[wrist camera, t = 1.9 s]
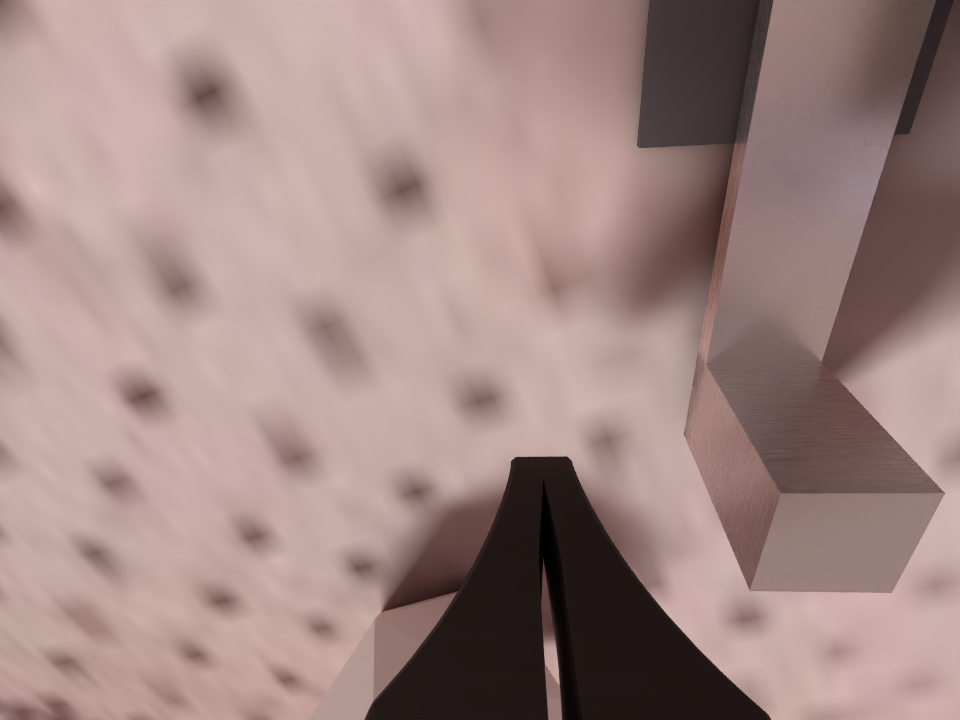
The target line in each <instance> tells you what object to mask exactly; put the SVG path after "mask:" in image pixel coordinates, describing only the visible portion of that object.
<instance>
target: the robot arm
mask: <svg viewBox="0 0 960 720" xmlns="http://www.w3.org/2000/svg"><path fill="white" fill-rule="evenodd" d="M543 559H544V566H545V573H546V580H547V587H548V593H549V600H550V607H551V614H552V620H553V627H554V634H555V641H556V648H557V657H558V666H559V680H560V696H561V712H562V720H771V718H770V717H769V715H768V714H767V713H766V712H765V711H764V710H762V709H761V708H760V707H759V706H758V705H757V704H756V703H755V702H753V701H752V700H751V699H750V698H749V697H748V696H747V695H746V694H744V693H743V692H742V691H741V690H740V689H739V688H738V687H737V686H736V685H735V684H734V683H733V682H732V681H731V680H729V679H728V678H727V677H726V676H725V675H724V674H723V673H722V672H721V671H720V670H719V669H718V668H717V667H716V666H715V665H714V664H713V663H712V662H711V661H710V660H709V659H708V658H707V657H706V656H705V655H704V654H703V653H702V652H701V651H700V650H699V649H698V648H697V647H696V646H695V645H694V644H693V642H692V641H691V640H690V639H689V638H688V637H687V636H686V635H685V634H684V633H683V632H682V630H681V629H680V628H679V627H678V626H677V625H676V624H675V623H674V622H673V621H672V619H671V618H670V617H669V616H668V615H667V614H666V613H665V612H664V610H663V609H662V608H661V607H660V606H659V604H658V603H657V602H656V601H655V600H654V598H653V597H652V596H651V595H650V593H649V592H648V591H647V590H646V588H645V587H644V586H643V584H642V583H641V582H640V580H639V579H638V578H637V577H636V575H635V574H634V573H633V571H632V570H631V568H630V567H629V566H628V564H627V563H626V561H625V560H624V558H623V557H622V555H621V554H620V552H619V551H618V549H617V548H616V546H615V545H614V543H613V542H612V540H611V539H610V537H609V535H608V534H607V532H606V531H605V529H604V527H603V525H602V524H601V522H600V520H599V519H598V517H597V515H596V513H595V512H594V510H593V508H592V506H591V504H590V502H589V500H588V499H587V497H586V494H585V492H584V490H583V488H582V486H581V484H580V482H579V480H578V477H577V475H576V472H575V470H574V467H573V464H572V461H571V460H570V459H569V458H568V457H515V458H514V459H513V460H512V461H511V469H510V474H509V478H508V482H507V486H506V489H505V492H504V495H503V499H502V501H501V504H500V507H499V509H498V512H497V514H496V517H495V520H494V522H493V525H492V527H491V529H490V531H489V533H488V536H487V538H486V540H485V542H484V544H483V546H482V548H481V550H480V553H479V555H478V557H477V558H476V560H475V562H474V564H473V566H472V568H471V570H470V572H469V573H468V575H467V577H466V579H465V580H464V582H463V584H462V585H461V587H460V589H459V590H458V592H457V594H456V595H455V597H454V598H453V600H452V601H451V603H450V604H449V606H448V608H447V609H446V611H445V612H444V614H443V615H442V617H441V618H440V620H439V621H438V622H437V624H436V625H435V627H434V628H433V629H432V631H431V632H430V633H429V635H428V636H427V637H426V639H425V640H424V641H423V643H422V644H421V645H420V647H419V648H418V649H417V650H416V652H415V653H414V654H413V656H412V657H411V658H410V660H409V661H408V662H407V663H406V664H405V666H404V667H403V668H402V669H401V670H400V671H399V673H398V674H397V675H396V676H395V677H394V678H393V679H392V681H391V682H390V683H389V684H388V685H387V686H386V687H385V689H384V690H383V691H382V692H381V693H380V694H379V695H378V697H377V698H376V699H375V700H374V701H373V702H372V704H371V706H370V708H369V710H368V712H367V715H366V717H365V719H364V720H548V705H547V691H546V676H545V661H544V646H543V630H542V613H541V597H542V574H543Z"/></svg>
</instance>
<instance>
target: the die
mask: <svg viewBox="0 0 960 720" xmlns="http://www.w3.org/2000/svg"><path fill="white" fill-rule="evenodd" d="M457 592H458V591H457ZM457 592H453V593H449V594H446V595H442V596H438V597H434V598H431V599H427V600H423V601H420V602H416V603H412V604H409V605H405V606H401V607H398V608H394V609H390V610H386V611H383V612H381V613H380V614H379V615H378V616H377V617H376V619H375V620H374V621H373V623H372V624H371V626H370V627H369V629H368V630H367V632H366V633H365V635H364V637H363V638H362V640H361V641H360V643H359V644H358V646H357V647H356V649H355V650H354V652H353V653H352V655H351V656H350V658H349V659H348V661H347V663H346V664H345V666H344V667H343V669H342V670H341V672H340V673H339V675H338V676H337V678H336V679H335V681H334V682H333V684H332V685H331V687H330V689H329V690H328V692H327V693H326V695H325V696H324V698H323V699H322V701H321V702H320V704H319V705H318V707H317V708H316V710H315V711H314V713H313V715H312V716H311V718H310V719H309V720H364V719H365V717H366V715H367V712H368V710H369V708H370V706H371V704H372V702H373V701H374V700H375V699H376V698H377V697H378V695H379V694H380V693H381V692H382V691H383V690H384V689H385V687H386V686H387V685H388V684H389V683H390V682H391V681H392V679H393V678H394V677H395V676H396V675H397V674H398V673H399V671H400V670H401V669H402V668H403V667H404V666H405V664H406V663H407V662H408V661H409V660H410V658H411V657H412V656H413V654H414V653H415V652H416V650H417V649H418V648H419V647H420V645H421V644H422V643H423V641H424V640H425V639H426V637H427V636H428V635H429V633H430V632H431V631H432V629H433V628H434V627H435V625H436V624H437V622H438V621H439V620H440V618H441V617H442V615H443V614H444V612H445V611H446V609H447V608H448V606H449V604H450V603H451V601H452V600H453V598H454V597H455V595H456V594H457ZM545 676H546V691H547V705H548V720H562V712H561V696H560V686H559V685H558V683H557V682H556V680H555V679H554V677H553V676H552V674H551V673H550V671H549V670H548V668H547V667H546V665H545Z"/></svg>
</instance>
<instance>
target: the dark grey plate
mask: <svg viewBox="0 0 960 720" xmlns="http://www.w3.org/2000/svg"><path fill="white" fill-rule="evenodd" d="M759 2H760V0H650V3H649V14H648V26H647V37H646V49H645V61H644V72H643V84H642V95H641V107H640V119H639V130H638V142H637V146H638V147H639V148H649V147H668V146H688V145H707V144H726V143H735V139H736V134H737V128H738V122H739V116H740V111H741V105H742V99H743V94H744V88H745V82H746V76H747V71H748V65H749V59H750V53H751V48H752V42H753V36H754V31H755V25H756V19H757V13H758V8H759ZM952 3H953V0H936V2H935V5H934V8H933V12H932V15H931V18H930V21H929V24H928V27H927V30H926V34H925V37H924V40H923V43H922V46H921V49H920V53H919V56H918V59H917V62H916V65H915V68H914V72H913V75H912V78H911V81H910V84H909V87H908V91H907V94H906V97H905V100H904V103H903V106H902V110H901V113H900V116H899V119H898V122H897V125H896V129H895V132H894V135H898V134H909V133H910V130H911V127H912V124H913V121H914V118H915V115H916V112H917V109H918V106H919V103H920V100H921V97H922V94H923V91H924V88H925V85H926V81H927V78H928V75H929V72H930V69H931V66H932V63H933V60H934V57H935V54H936V51H937V48H938V45H939V42H940V39H941V36H942V33H943V30H944V27H945V24H946V21H947V18H948V15H949V12H950V9H951V6H952Z"/></svg>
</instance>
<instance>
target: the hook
mask: <svg viewBox="0 0 960 720" xmlns="http://www.w3.org/2000/svg"><path fill="white" fill-rule="evenodd" d="M935 2H936V0H760V2H759V8H758V13H757V19H756V25H755V31H754V36H753V42H752V48H751V53H750V59H749V65H748V71H747V76H746V82H745V88H744V94H743V99H742V105H741V111H740V116H739V122H738V128H737V134H736V139H735V145H734V151H733V157H732V162H731V168H730V174H729V179H728V185H727V191H726V197H725V202H724V208H723V214H722V220H721V225H720V231H719V237H718V242H717V248H716V254H715V260H714V265H713V271H712V277H711V283H710V288H709V294H708V300H707V305H706V311H705V317H704V323H703V328H702V334H701V340H700V346H699V351H698V357H697V363H696V368H695V374H694V380H693V386H692V391H691V397H690V403H689V409H688V414H687V420H686V426H685V431H684V436H685V438H686V440H687V443H688V445H689V448H690V450H691V452H692V455H693V457H694V459H695V462H696V464H697V467H698V469H699V471H700V474H701V476H702V478H703V481H704V483H705V486H706V488H707V490H708V493H709V495H710V497H711V500H712V502H713V504H714V507H715V509H716V512H717V514H718V516H719V519H720V521H721V523H722V526H723V528H724V531H725V533H726V535H727V538H728V540H729V542H730V545H731V547H732V550H733V552H734V554H735V557H736V559H737V561H738V564H739V566H740V569H741V571H742V573H743V576H744V578H745V580H746V583H747V585H748V588H749V590H750V591H795V592H872V593H892V591H893V590H894V588H895V586H896V584H897V582H898V580H899V578H900V576H901V575H902V573H903V571H904V569H905V567H906V565H907V563H908V562H909V560H910V558H911V556H912V554H913V552H914V550H915V548H916V547H917V545H918V543H919V541H920V539H921V537H922V535H923V533H924V532H925V530H926V528H927V526H928V524H929V522H930V520H931V519H932V517H933V515H934V513H935V511H936V509H937V507H938V505H939V504H940V502H941V500H942V498H943V496H944V494H945V493H944V492H943V491H942V490H941V489H940V488H939V486H938V485H937V484H936V483H935V482H934V481H933V480H932V479H931V478H930V477H929V476H928V475H927V474H926V473H925V472H924V471H923V469H922V468H921V467H920V466H919V465H918V464H917V463H916V462H915V461H914V460H913V459H912V458H911V457H910V456H909V455H908V453H907V452H906V451H905V450H904V449H903V448H902V447H901V446H900V445H899V444H898V443H897V442H896V441H895V440H894V439H893V437H892V436H891V435H890V434H889V433H888V432H887V431H886V430H885V429H884V428H883V427H882V426H881V425H880V424H879V423H878V421H877V420H876V419H875V418H874V417H873V416H872V415H871V414H870V413H869V412H868V411H867V410H866V409H865V408H864V407H863V405H862V404H861V403H860V402H859V401H858V400H857V399H856V398H855V397H854V396H853V395H852V394H851V393H850V392H849V391H848V389H847V388H846V387H845V386H844V385H843V384H842V383H841V382H840V381H839V380H838V379H837V378H836V377H835V376H834V375H833V373H832V372H831V371H830V370H829V369H828V368H827V367H826V366H825V365H824V364H823V363H822V360H823V356H824V353H825V350H826V347H827V344H828V341H829V337H830V334H831V331H832V328H833V325H834V322H835V318H836V315H837V312H838V309H839V306H840V303H841V299H842V296H843V293H844V290H845V287H846V284H847V280H848V277H849V274H850V271H851V268H852V265H853V262H854V258H855V255H856V252H857V249H858V246H859V243H860V239H861V236H862V233H863V230H864V227H865V224H866V220H867V217H868V214H869V211H870V208H871V205H872V201H873V198H874V195H875V192H876V189H877V186H878V182H879V179H880V176H881V173H882V170H883V167H884V163H885V160H886V157H887V154H888V151H889V148H890V144H891V141H892V138H893V135H894V132H895V129H896V125H897V122H898V119H899V116H900V113H901V110H902V106H903V103H904V100H905V97H906V94H907V91H908V87H909V84H910V81H911V78H912V75H913V72H914V68H915V65H916V62H917V59H918V56H919V53H920V49H921V46H922V43H923V40H924V37H925V34H926V30H927V27H928V24H929V21H930V18H931V15H932V12H933V8H934V5H935Z"/></svg>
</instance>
